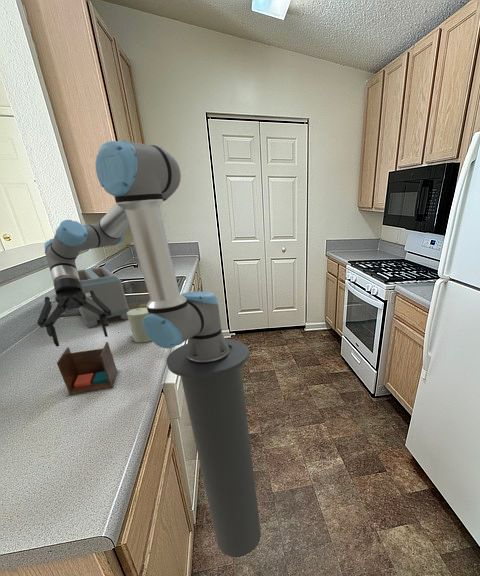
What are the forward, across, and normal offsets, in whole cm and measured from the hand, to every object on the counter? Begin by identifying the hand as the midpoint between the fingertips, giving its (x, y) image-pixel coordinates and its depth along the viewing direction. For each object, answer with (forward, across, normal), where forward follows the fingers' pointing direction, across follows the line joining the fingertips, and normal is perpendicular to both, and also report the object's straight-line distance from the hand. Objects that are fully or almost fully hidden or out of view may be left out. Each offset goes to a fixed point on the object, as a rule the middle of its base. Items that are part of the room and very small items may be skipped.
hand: (82, 339), depth 105 cm
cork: (-14, -23, -32) cm, 42 cm away
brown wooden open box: (+14, 0, -3) cm, 14 cm away
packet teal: (+14, -3, -2) cm, 14 cm away
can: (-7, -20, -24) cm, 32 cm away
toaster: (-38, -6, -55) cm, 67 cm away
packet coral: (+13, +2, -3) cm, 13 cm away
